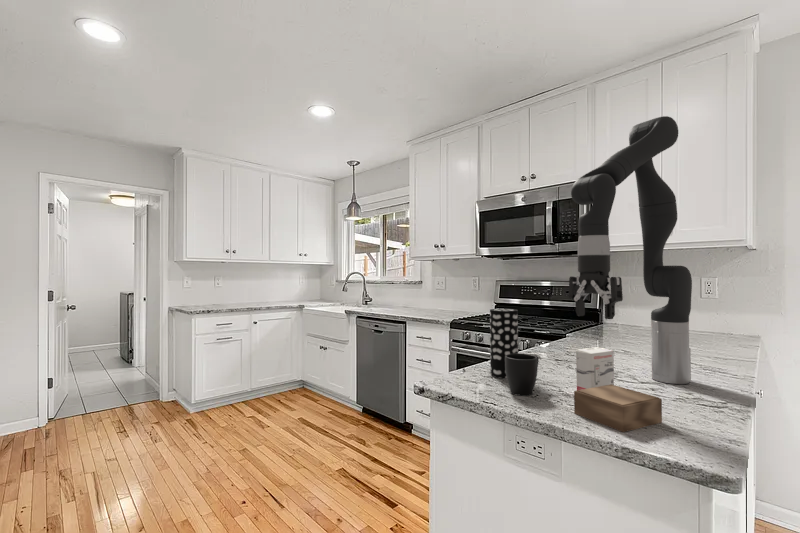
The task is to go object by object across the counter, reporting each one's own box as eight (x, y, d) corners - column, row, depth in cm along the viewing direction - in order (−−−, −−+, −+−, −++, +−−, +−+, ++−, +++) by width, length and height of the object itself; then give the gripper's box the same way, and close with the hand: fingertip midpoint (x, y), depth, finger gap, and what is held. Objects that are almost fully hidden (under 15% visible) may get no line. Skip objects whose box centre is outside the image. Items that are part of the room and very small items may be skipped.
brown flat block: (611, 405, 98) (611, 383, 98) (661, 422, 87) (661, 397, 87) (574, 413, 93) (574, 390, 93) (623, 432, 82) (622, 405, 82)
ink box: (591, 401, 101) (591, 352, 101) (575, 395, 105) (574, 349, 106) (615, 396, 105) (614, 349, 105) (598, 391, 109) (597, 346, 109)
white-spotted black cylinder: (521, 378, 123) (521, 311, 123) (493, 378, 123) (493, 311, 123) (514, 371, 131) (513, 308, 131) (488, 371, 131) (487, 308, 131)
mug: (551, 390, 110) (551, 354, 111) (526, 399, 103) (525, 361, 103) (524, 384, 117) (524, 350, 117) (498, 392, 109) (498, 356, 109)
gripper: (629, 252, 101) (630, 319, 101) (581, 255, 114) (582, 314, 113) (607, 252, 98) (608, 321, 97) (561, 254, 110) (561, 315, 110)
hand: (594, 317), depth 105 cm, fingers open, 8 cm apart
